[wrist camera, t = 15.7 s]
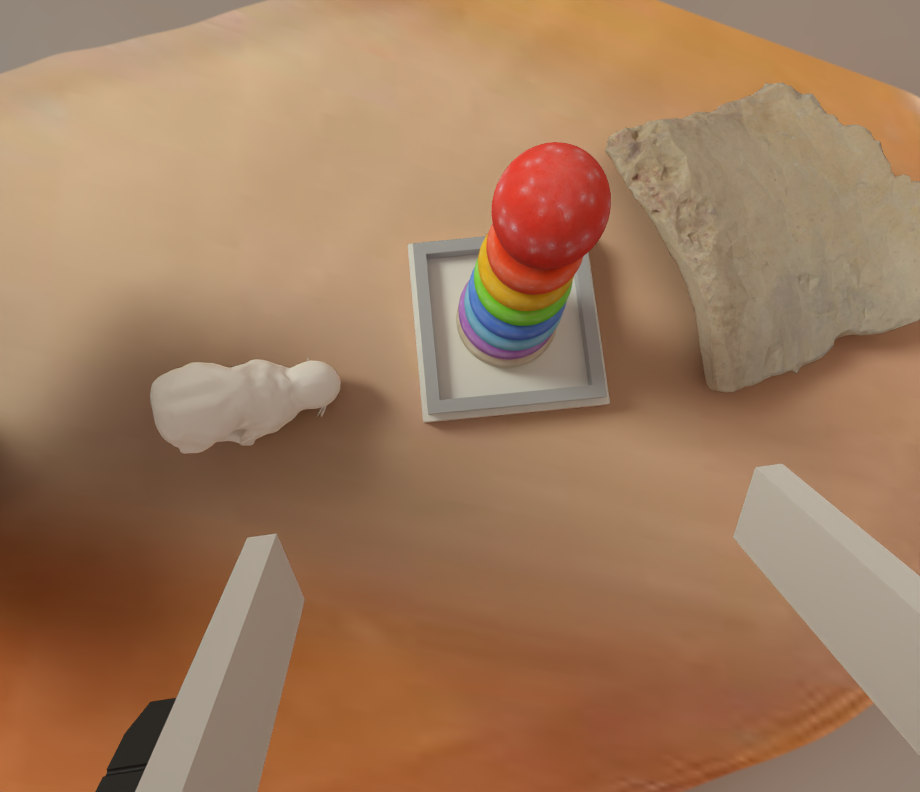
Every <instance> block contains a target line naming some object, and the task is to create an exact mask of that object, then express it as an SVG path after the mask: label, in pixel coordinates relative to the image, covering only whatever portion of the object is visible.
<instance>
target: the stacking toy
mask: <svg viewBox="0 0 920 792" xmlns="http://www.w3.org/2000/svg"><path fill="white" fill-rule="evenodd" d="M610 206H611V193H610V188H609V183H608V180H607V177H606V175H605V173H604V171H603V169H602V168H601V166H600V165H599V163H598V162H597V161H596V160H595V159H594V158H593V157H592V156H591V155H590V154H589V153H587V152H586V151H584V150H583V149H581V148H579V147H577V146H574V145H571V144H567V143H558V142H552V143H545V144H541V145H538V146H535V147H532V148H530V149H528V150H526V151H525V152H523V153H522V154H521V155H519V156H518V157H517V158H516V159H514V160H513V161H512V162H511V164H510V165H509V166H508V167H507V169H506V170H505V171H504V173H503V174H502V176H501V178H500V179H499V181H498V183H497V186H496V189H495V192H494V196H493V201H492V220H493V224H492V226H491V228H490V230H489V233H488V234H487V236H486V237H485V239H484V241H483V242H482V245H481V247H480V251H479V255H478V259H477V261H476V265H475V267H474V269H473V271H472V274H471V277H470V280H469V281H468V282H467V284H466V285H465V287H464V289H463V291H462V293H461V296H460V300H459V305H458V308H457V315H456V323H457V329H458V333H459V336H460V338H461V340H462V342H463V344H464V345H465V347H466V348H467V350H468V351H469V352H470V353H471V354H472V355H473V356H475V357H476V358H477V359H479V360H480V361H482V362H484V363H486V364H488V365H491V366H495V367H500V368H514V367H519V366H523V365H526V364H528V363H530V362H532V361H534V360H535V359H537V358H538V357H539V356H540V355H542V354H543V353H544V352H545V350H546V349H547V348H548V347H549V345H550V344H551V342H552V340H553V338H554V335H555V332H556V328H557V326H558V324H559V322H560V320H561V317H562V314H563V311H564V309H565V306H566V302H567V299H568V297H569V294H570V291H571V288H572V282H573V278H574V275H575V273H576V272H577V270H578V269H579V267H580V265H581V262H582V260H583V256H584V255H586V254H587V253H588V252H589V251H590V250H591V249H592V248H593V247H594V245H595V244H596V243H597V242H598V240H599V239H600V237H601V235H602V234H603V232H604V230H605V227H606V225H607V222H608V219H609V214H610Z"/></svg>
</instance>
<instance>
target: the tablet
mask: <svg viewBox="0 0 920 792" xmlns="http://www.w3.org/2000/svg"><path fill="white" fill-rule="evenodd" d="M605 152H606V153H607V154H608V156H609V157H610V158H611V160H612V161H613V163H614V164H615V166H616V168H617V170H618V172H619V174H620V175H621V176H622V178H623V179H624V181H625V183H626V185H627V187H628V188H629V190H630V191H631V192H632V193H633V195H634V198H635V199H636V200H637V201H638V202H639V203H640V205H641V206H642V208H643V209H644V210H645V211H646V213H647V214H648V215H649V217H650V218H651V220H652V221H653V223H654V224H655V226H656V227H657V229H658V231H659V233H660V235H661V237H662V239H663V241H664V242H665V244H666V246H667V248H668V250H669V253H670V255H671V256H672V258H673V259H674V261H675V262H676V264H677V265H678V267H679V270H680V272H681V274H682V277H683V279H684V281H685V284H686V286H687V288H688V291H689V296H690V300H691V302H692V305H693V308H694V311H695V315H696V322H697V328H698V335H699V344H700V350H701V354H702V358H703V367H704V375H705V380H706V384H707V386H708V387H709V388H710V389H711V390H714V391H719V392H735V391H736V390H739V389H742V388H744V387H745V386H753V385H755V384H757V383H760V382H761V381H762V380H764V379H766V378H769V377H772V376H776V375H782V374H784V373H785V372H789V371H791V372H793V373H795V374H797V373H798V371H799V370H800V368H801V366H804V365H806V364H809V363H812V362H814V361H816V360H819V359H821V358H822V357H823V356H824V355H825V354H826V353H827V352H828V351H829V350H830V349H831V348H832V347H833V346H834V341H835V339H837V338H840V337H843V336H846V335H857V336H861V335H875V334H881V333H885V332H887V331H890V330H893V329H896V328H899V327H902V326H904V325H907V324H911V323H914V322H916V321H919V320H920V182H919V181H911V179H910V176H907V175H901V176H897V177H895V176H894V174H893V173H892V172H891V165H890V163H889V162H888V160H887V159H886V157H885V155H884V153H883V150H882V147H881V144H880V141H876V140H875V139H874V138H873V136H872V134H871V132H870V131H869V130H867V129H866V128H864V127H862V126H859V125H847V126H844V125H842V124H841V123H839V122H838V119H837V117H836V116H834V115H831V114H827V113H826V112H825V111H824V109H823V108H822V107H821V106H820V103H819V102H818V101H817V99H816V98H815V97H814V95H813V94H801V93H799V92H798V91H796V90H795V89H794V88H792V87H791V86H789V85H785V84H784V83H775V84H767V83H765V85H764V86H763V88H762V89H760V90H759V91H757V92H756V93H754V94H753V95H750V96H747V97H745V98H742V99H739V100H737V101H732V102H728V103H726V104H723V105H721V106H719V107H718V108H717V109H716V110H715V111H713V112H710V113H706V112H696V113H693V114H691V115H689V116H687V117H685V118H682V119H677V118H676V119H661V120H655V121H648V122H647V123H645V124H644V125H640V126H637V127H634V128H624V129H623V130H620V131H618V132H616V133H614V134H613V135H611V136H610V137H609V138H608V141H607V147H606V148H605Z"/></svg>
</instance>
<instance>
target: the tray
mask: <svg viewBox="0 0 920 792" xmlns="http://www.w3.org/2000/svg"><path fill="white" fill-rule="evenodd" d="M485 237H486V236H484V237H474V238H464V239H453V240H443V241H432V242H422V243H413V244H408V254H409V265H410V276H411V288H412V299H413V310H414V322H415V333H416V344H417V356H418V367H419V378H420V390H421V401H422V412H423V422H424V423H429V422H439V421H449V420H459V419H469V418H479V417H489V416H500V415H510V414H520V413H530V412H540V411H550V410H560V409H570V408H581V407H591V406H601V405H606V404H610V400H609V393H608V385H607V378H606V371H605V364H604V357H603V350H602V343H601V336H600V329H599V322H598V315H597V307H596V300H595V293H594V286H593V279H592V272H591V265H590V258H589V252H588V253H587V254H586V255H584V256H583V260H582V262H581V265H580V267H579V269H578V270H577V272H576V273H575V275H574V278H573V282H572V288H571V291H570V294H569V297H568V299H567V302H566V306H565V309H564V311H563V314H562V317H561V320H560V322H559V324H558V326H557V328H556V332H555V335H554V338H553V340H552V342H551V344H550V345H549V347H548V348H547V349H546V350H545V352H544V353H543V354H542V355H540V356H539V357H538V358H537V359H535V360H534V361H532V362H530V363H528V364H526V365H523V366H519V367H514V368H500V367H495V366H491V365H488V364H486V363H484V362H482V361H480V360H479V359H477V358H476V357H475V356H473V355H472V354H471V353H470V352H469V351H468V350H467V348H466V347H465V345H464V344H463V342H462V340H461V338H460V336H459V333H458V329H457V323H456V315H457V308H458V305H459V300H460V296H461V293H462V291H463V289H464V287H465V285H466V284H467V282H468V281H469V280H470V277H471V274H472V271H473V269H474V267H475V265H476V261H477V259H478V255H479V251H480V247H481V245H482V242H483V241H484V239H485Z"/></svg>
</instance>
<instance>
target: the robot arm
mask: <svg viewBox="0 0 920 792" xmlns="http://www.w3.org/2000/svg"><path fill="white" fill-rule="evenodd" d="M733 538H734V539H735V540H736V542H737V543H738V544H739V545H740V546H741V547H742V549H743V550H744V551H745V552H746V553H747V554H748V556H749V557H750V558H751V559H752V560H753V562H754V563H755V564H756V565H757V566H758V567H759V569H760V570H761V571H762V572H763V573H764V574H765V576H766V577H767V578H768V579H769V580H770V581H771V583H772V584H773V585H774V586H775V587H776V588H777V590H778V591H779V592H780V593H781V594H782V596H783V597H784V598H785V599H786V600H787V601H788V603H789V604H790V605H791V606H792V607H793V608H794V610H795V611H796V612H797V613H798V614H799V615H800V617H801V618H802V619H803V620H804V621H805V623H806V624H807V625H808V626H809V627H810V628H811V630H812V631H813V632H814V633H815V634H816V635H817V637H818V638H819V639H820V640H821V641H822V642H823V644H824V645H825V646H826V647H827V648H828V649H829V651H830V652H831V653H832V654H833V655H834V657H835V658H836V659H837V660H838V661H839V662H840V664H841V665H842V666H843V667H844V668H845V669H846V671H847V672H848V673H849V674H850V675H851V676H852V678H853V679H854V680H855V681H856V682H857V684H858V685H859V686H860V687H861V688H862V689H863V691H864V692H865V693H866V694H867V695H868V696H869V698H870V699H871V700H872V701H873V702H874V703H875V705H876V706H877V707H878V708H879V709H880V710H881V712H882V713H883V714H884V715H885V716H886V717H887V719H888V720H889V721H890V722H891V723H892V724H893V726H894V727H895V728H896V729H897V730H898V732H899V733H900V734H901V735H902V736H903V737H904V739H906V741H907V742H908V743H909V744H910V746H911V747H912V748H913V749H914V750H915V752H916V753H917V754H918V755H919V756H920V576H919V575H918V574H917V573H915V572H914V571H913V570H912V569H910V568H909V567H908V566H907V565H905V564H904V563H903V562H902V561H901V560H899V559H898V558H897V557H896V556H894V555H893V554H892V553H891V552H890V551H888V550H887V549H886V548H885V547H883V546H882V545H881V544H880V543H879V542H877V541H876V540H875V539H874V538H872V537H871V536H870V535H869V534H868V533H866V532H865V531H864V530H863V529H861V528H860V527H859V526H858V525H857V524H855V523H854V522H853V521H852V520H850V519H849V518H848V517H847V516H846V515H844V514H843V513H842V512H841V511H839V510H838V509H837V508H836V507H834V506H833V505H832V504H831V503H830V502H828V501H827V500H826V499H825V498H823V497H822V496H821V495H820V494H819V493H817V492H816V491H815V490H814V489H812V488H811V487H810V486H809V485H808V484H806V483H805V482H804V481H803V480H801V479H800V478H799V477H798V476H797V475H795V474H794V473H793V472H792V471H790V470H789V469H788V468H787V467H786V466H784V465H783V464H775V465H768V466H761V467H755V470H754V473H753V476H752V479H751V483H750V486H749V489H748V492H747V495H746V498H745V501H744V505H743V508H742V511H741V514H740V517H739V520H738V523H737V527H736V530H735V533H734V536H733ZM304 601H305V599H304V596H303V594H302V592H301V589H300V587H299V585H298V582H297V580H296V578H295V575H294V573H293V571H292V568H291V566H290V564H289V561H288V559H287V556H286V554H285V552H284V549H283V547H282V545H281V542H280V540H279V538H278V535H277V534H270V535H262V536H255V537H248V538H247V540H246V542H245V544H244V546H243V549H242V551H241V553H240V555H239V558H238V560H237V562H236V564H235V567H234V569H233V571H232V574H231V576H230V578H229V580H228V583H227V585H226V587H225V589H224V592H223V594H222V596H221V598H220V601H219V603H218V605H217V607H216V610H215V612H214V614H213V617H212V619H211V621H210V623H209V626H208V628H207V630H206V632H205V635H204V637H203V639H202V641H201V644H200V646H199V648H198V651H197V653H196V655H195V657H194V660H193V662H192V664H191V666H190V669H189V671H188V673H187V675H186V678H185V680H184V682H183V684H182V687H181V689H180V691H179V694H178V696H177V698H173V699H166V700H160V701H153V702H150V703H149V704H148V706H147V707H146V708H145V709H144V711H143V712H142V713H141V714H140V716H139V717H138V718H137V719H136V720H135V722H134V723H133V724H132V725H131V727H130V728H129V729H128V730H127V732H126V733H125V734H124V736H123V738H122V740H121V742H120V744H119V746H118V748H117V750H116V752H115V754H114V756H113V758H112V760H111V762H110V764H109V766H108V768H107V774H106V776H105V777H103V778H102V780H101V782H100V784H99V786H98V788H97V790H96V792H257V791H258V787H259V783H260V779H261V775H262V771H263V767H264V763H265V759H266V755H267V751H268V747H269V743H270V739H271V734H272V730H273V726H274V722H275V718H276V714H277V710H278V706H279V702H280V698H281V694H282V690H283V686H284V682H285V678H286V674H287V670H288V666H289V662H290V658H291V654H292V650H293V646H294V642H295V638H296V634H297V629H298V625H299V621H300V617H301V613H302V609H303V605H304Z"/></svg>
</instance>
